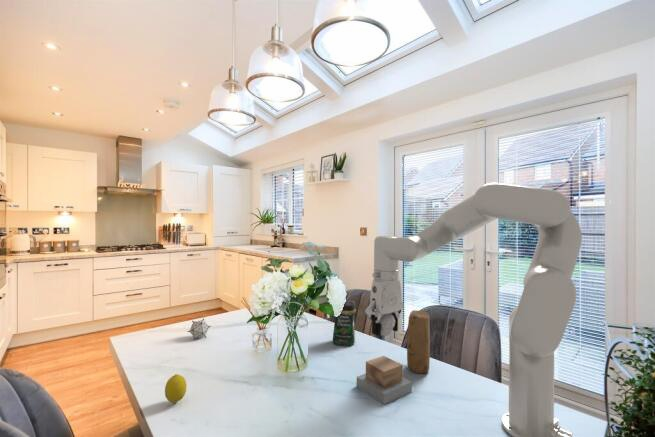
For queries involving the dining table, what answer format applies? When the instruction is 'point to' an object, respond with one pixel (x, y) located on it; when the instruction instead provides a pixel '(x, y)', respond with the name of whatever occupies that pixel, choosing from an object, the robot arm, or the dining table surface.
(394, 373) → the walnut block
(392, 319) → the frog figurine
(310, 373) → the dining table surface
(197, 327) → the grey spiky faceted part
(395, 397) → the slate plinth
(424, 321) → the block
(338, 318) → the coffee jar
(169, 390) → the lemon
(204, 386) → the dining table surface
